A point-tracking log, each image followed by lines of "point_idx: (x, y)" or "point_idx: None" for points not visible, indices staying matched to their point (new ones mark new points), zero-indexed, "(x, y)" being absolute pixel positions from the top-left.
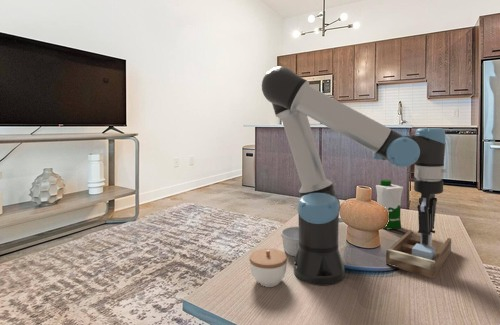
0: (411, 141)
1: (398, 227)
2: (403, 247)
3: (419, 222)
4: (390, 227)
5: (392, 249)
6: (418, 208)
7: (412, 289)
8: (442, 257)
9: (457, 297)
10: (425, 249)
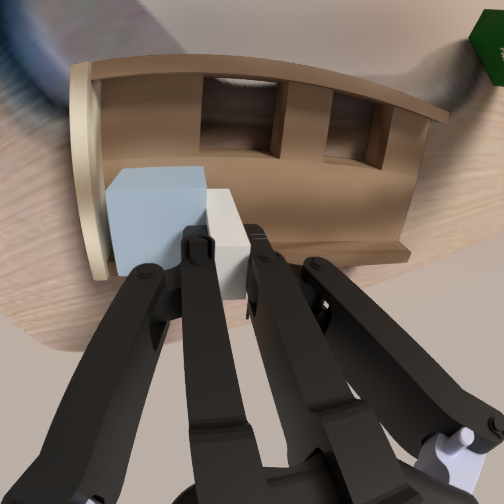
0: None
1: (492, 76)
2: (285, 89)
3: (93, 347)
4: (480, 47)
5: (118, 75)
6: (11, 496)
7: (8, 215)
8: None
9: (64, 303)
10: (142, 248)
